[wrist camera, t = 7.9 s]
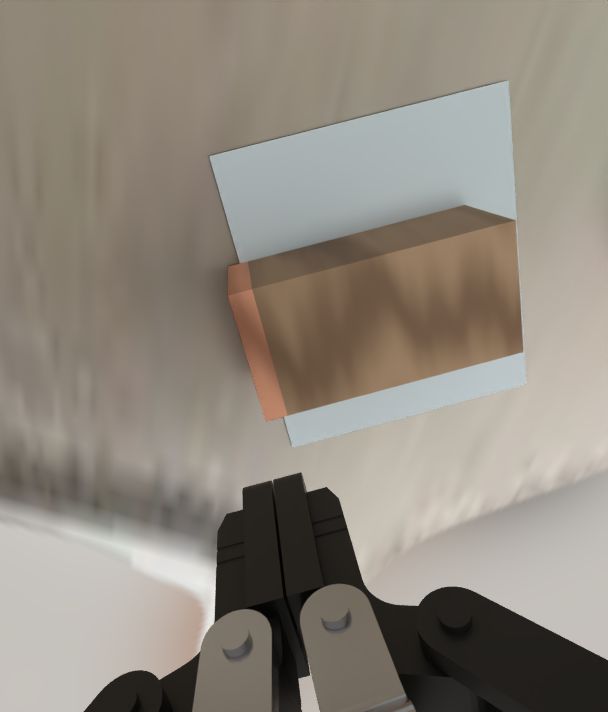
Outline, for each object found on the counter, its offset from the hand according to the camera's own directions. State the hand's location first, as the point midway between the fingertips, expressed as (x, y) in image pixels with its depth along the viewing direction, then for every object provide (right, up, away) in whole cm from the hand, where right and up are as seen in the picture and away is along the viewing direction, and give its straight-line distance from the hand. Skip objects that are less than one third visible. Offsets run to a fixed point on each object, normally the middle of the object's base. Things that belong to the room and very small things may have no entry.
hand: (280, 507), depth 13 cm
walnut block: (-2, +5, +11) cm, 12 cm away
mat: (+5, +8, +14) cm, 17 cm away
